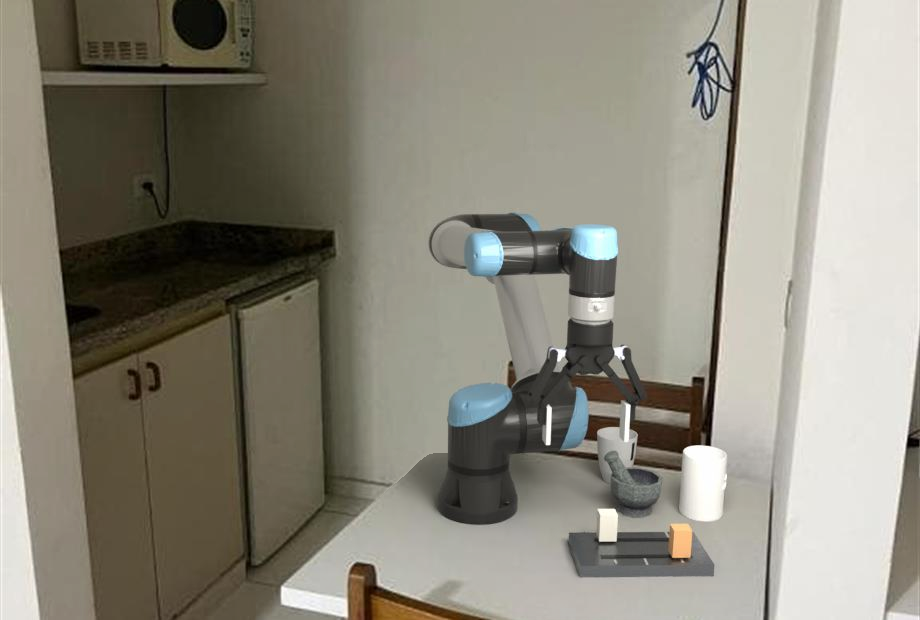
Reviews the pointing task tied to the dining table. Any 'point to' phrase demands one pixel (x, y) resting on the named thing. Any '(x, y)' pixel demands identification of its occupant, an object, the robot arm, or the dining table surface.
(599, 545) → the console
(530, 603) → the dining table surface
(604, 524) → the fader
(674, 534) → the fader
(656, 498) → the mortar and pestle
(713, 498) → the mug
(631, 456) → the cup
